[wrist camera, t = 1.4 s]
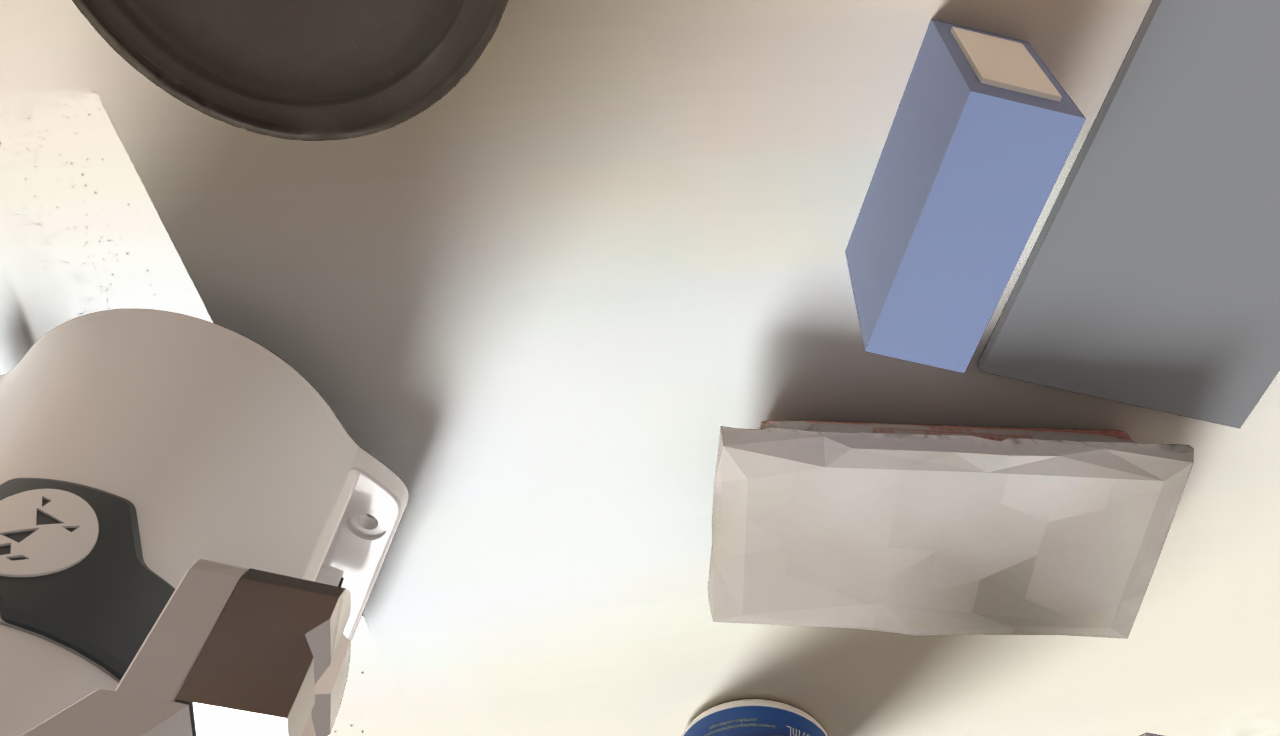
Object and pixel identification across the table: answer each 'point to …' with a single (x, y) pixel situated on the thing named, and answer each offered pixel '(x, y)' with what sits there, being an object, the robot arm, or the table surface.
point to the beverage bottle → (754, 720)
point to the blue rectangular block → (956, 194)
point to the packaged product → (939, 527)
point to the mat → (1165, 228)
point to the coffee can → (301, 57)
